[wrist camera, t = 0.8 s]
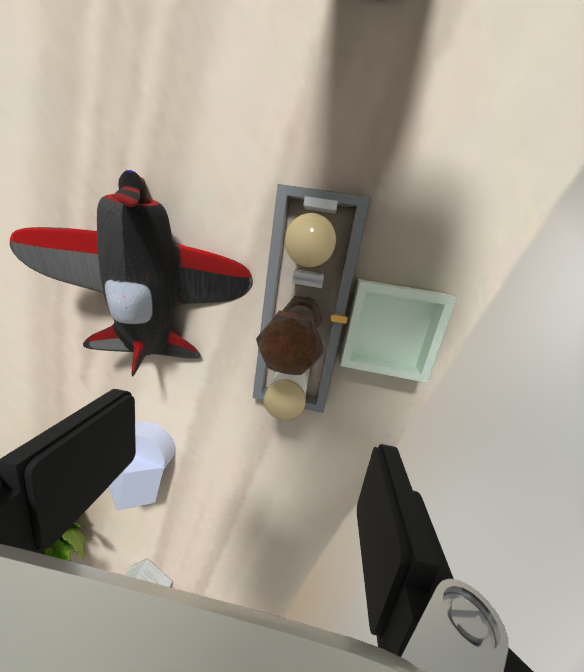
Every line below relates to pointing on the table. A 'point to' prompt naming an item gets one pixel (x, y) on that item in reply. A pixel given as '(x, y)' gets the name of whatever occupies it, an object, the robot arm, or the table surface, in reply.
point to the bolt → (292, 338)
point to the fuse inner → (310, 240)
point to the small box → (149, 573)
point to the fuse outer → (286, 395)
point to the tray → (395, 329)
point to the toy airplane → (133, 271)
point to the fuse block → (311, 275)
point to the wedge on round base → (144, 467)
